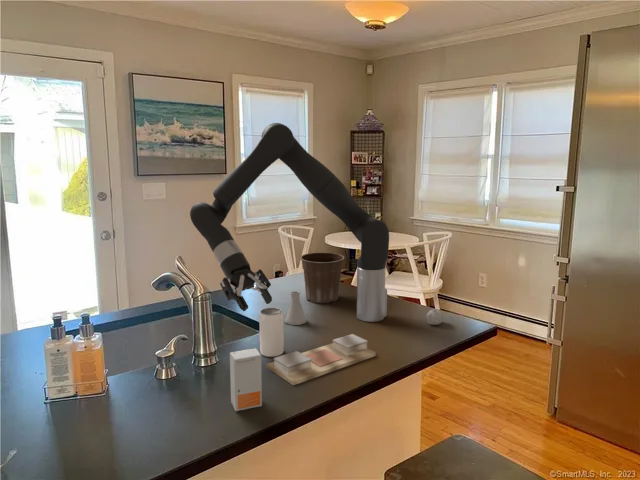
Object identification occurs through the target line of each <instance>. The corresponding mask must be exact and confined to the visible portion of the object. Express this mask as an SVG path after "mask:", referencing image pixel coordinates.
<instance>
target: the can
mask: <svg viewBox="0 0 640 480" xmlns="http://www.w3.org/2000/svg"><path fill="white" fill-rule="evenodd" d="M258 321H259V322H258V323H259V349H260V352H259V353H260V354H261V356H263V357H266V358H275V357H279V356H282V355H283V354H284V352H285V351H284V349H285V347H284V346H285V345H284V344H285V343H284V342H285V341H284V340H285V339H284V334H285V333H284V315H283V313H282V310H281V308H277V307H266V308H264V309H262V310H260V315H259V319H258Z"/></svg>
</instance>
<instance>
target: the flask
mask: <svg viewBox="0 0 640 480" xmlns="http://www.w3.org/2000/svg"><path fill="white" fill-rule="evenodd" d="M289 295H290V298H291V299H290V303H289V308H288V310H287V314H286V317H285V320H284V321H283V324H286V325H287V324H288V325H290V326H300V325H303V324H306V323H307V317H306V314H305V312H304V309H303V306H302V304H301V299H300V295H301V291H298V290H292V291H290V293H289Z"/></svg>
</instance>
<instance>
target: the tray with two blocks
mask: <svg viewBox="0 0 640 480" xmlns="http://www.w3.org/2000/svg"><path fill="white" fill-rule="evenodd" d="M376 354H377V353H376V351H373V350H371V349H369V348H368V340H367V339H364V338H363V337H360V336H358V335H356V334H353V333H351V334H348V335H345V336H344V335H343V336H342V337H338V338H334V339H332V342H331V343H329V344H326V345H322V346H319V347H317V348H313V349H310V350H306V351H304V352H300V351H298V350H295V351H292V352H289V353H285V354H281V355H280V356H277V357H273V360H274V361H272V362H269V363H266V369H268V370H270V371H271V372H272V373H274V374H276V375H278V376H279V377H280V378H281V379H283V380H285V381H286V382H288V383H289V384H290V385H292V386H295V385H298V384H301V383H304V382H307V381H310V380H312V379H315V378H318V377H320V376H323V375H326V374H328V373H332V372H334V371H337V370H340V369H343V368H345V367H349V366H351V365H353V364H357V363H359V362H362V361H365V360H367V359H371V358H373V357H376V356H377V355H376Z"/></svg>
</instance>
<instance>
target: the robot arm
mask: <svg viewBox="0 0 640 480" xmlns="http://www.w3.org/2000/svg"><path fill="white" fill-rule="evenodd" d="M278 159H279V160H280V161H281V162H282V163H283V164H285V166H287V167H288V168H289V169H290V170H291V171H292V173H293V174H294V175H295V176H296V178H297V179H298V180H299V181H300V183H301V184H302V185H303V186H304V188H305V189H306V190H307V191H308V192H309V193H310V194H311V195H312V196H313V197H314V199H316V200H317V202H319V203H320V204H321V205H322V206H323V207H324V208H326V209H327V210H328V211H330V212H331V213H332V214H333V215H335V217H337V218H338V219H340V221H342V223H343V224H344V225H345V226H346V227H347V228H348V229H349V230H350V232H351V233H352V234H353V236H354V237H355V238H356V239H357V241H358V242H359V243H361V245H360V256H359V257H358V258H357V259H356V262H357V267H356V277H357V278H356V318H357V319H358V320H360V321H362V322H369V323H370V322H372V323H375V322H380V321H382V320H384V319H385V318H386V317H388V316H387V313H388V312H387V310H388V288H386V267H387V266H386V264H387V261H388V257H389V246H390V230H389V228H388V227H389V226H387V224H386V223H385V222H384V221H382V220H381V219H378V218H375V217H373V216H372V215H370V214H369V213H368V212H367V211H365V210H364V209H363V208H362V207H360V206H359V204H358V203H357V202H356V201H355V199H354V198H353V197H352V195H351V193H350V192H349V190H348V189H347V187H346V185H344V183H343V182H342V181H341V179H339V178H338V177H337V176H336V175H335V174H334V173H333V172H332V171H331V169H329V168H327V166H325V165H324V164H323V163H321V162H320V161H319V160H318V159H317V158H315V157H314V156H312V155H311V154H310V153H309V152H308V151H306V149H304V147H303V146H302V145H301V144H300V142H299V141H298V140H297V139H296V138H295V136H294V134H293V132H292V129H290V128H289V126H287V125H285V124H283V123H280V122H272V123H270V124H268V125H266V126H265V127H264V129H263V130H262V132H261V139H260V140H259V141H258V143H257V145H256V146H255V147H254V149H253V150H252V152H250V154H249V155H248V156H247V157H246V158H245V159H244V160H243V161H242V162H240V163H239V164H238V166H236V167H235V168H234V169H233V170H231V171H230V173H229V174H228V175H227V176H226V177H225V178H224V179H223V180H222V181H221V182H220V183H219V184H218V185H217V187H215V189H214V190H213V194H212V195H213V197H214V201H213V202H212V204H211V205H210V204H208V203H206V202H196V203H194V204H193V205H192V206H191V208H190V211H189V217H190V220H191V222H192V225H193V226H194V227H195V228H196V230H197V231H198V232H199V234H200V235H201V236H202V237H203V238H204V239H205V240H206V242H207V244H208V246H209V247H210V249H211V251H212V252H213V254H214V258H215V260H216V261H217V263H218V265H219V267H220V269H221V270H222V272H223V274H224V276H225V277H223V279H222V280H221V281H220V283H219V284H220V287H221V289H222V291H223V293H224V294H225V297H226V299H227V300H228V301H231V300H232V301H233V300H234V302H235V303H236V304H237V306H238V308H239V309H240V310H241V311H243V312H246V311H247V310H248V309H249V305H248V302H246V300H245V298H244V296H243V295H242V292H244V291H245V290H253V291H257V292H258V293H260V295H261V297H262V298H263V300H264V302H265V304H266V305H268V304H269V305H270V304H271V302H273V297H272V295H271V293H270V292H269V290H268V289H269V288H270V287H271V285H272V284H271V282H270V280H269V279H268V277H267V276H266V275H265V273H264V272H263V270H262V269H260V268H259V269H258V270H257V271H255V272H254V271H252V269H251V264H250V263H249V260H248V259H247V257H246V256H245V254H244V253H243V251H242V250H241V248H240V246H239V245H238V244H237V243H236V241H235V239H234V237H233V235H232V234H231V232H230V231H229V230H228V228H227V227H225V226H224V225H223V223H224V221H225V220H226V218H227V216H228V214H229V212H230V211H231V209H232V208H233V205H234V204H236V202H237V201H238V200H239V199H240V198H241V197H242V196H243V195H244V194H245V193H246V192H247V191H248V189H249V188H250V187H252V184H253V183H254V182H255V181H256V180H257V179H258V178H259V177H260V176H261V175H262V173H264V171H266V169H268V168H270V166H271V165H273V164H274V163H275V162H276V161H277V160H278ZM232 287H233V288H234V289H233V288H232Z"/></svg>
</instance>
